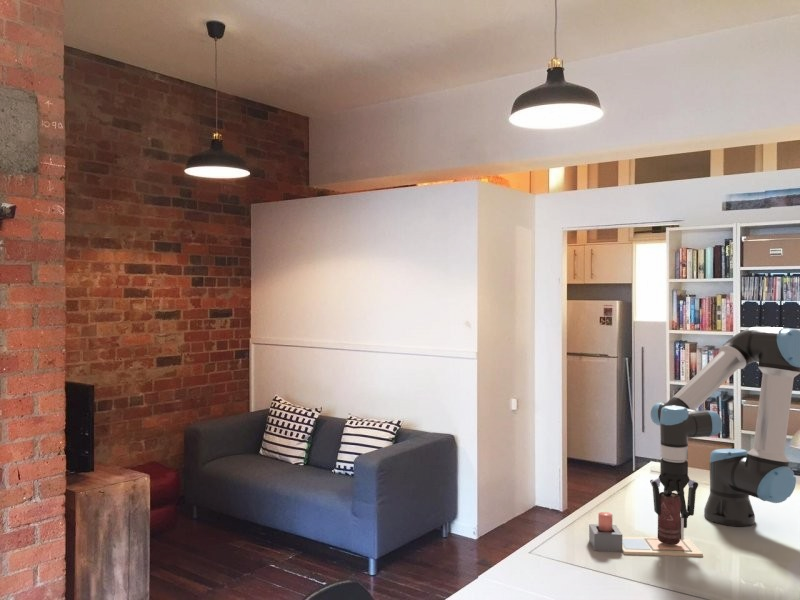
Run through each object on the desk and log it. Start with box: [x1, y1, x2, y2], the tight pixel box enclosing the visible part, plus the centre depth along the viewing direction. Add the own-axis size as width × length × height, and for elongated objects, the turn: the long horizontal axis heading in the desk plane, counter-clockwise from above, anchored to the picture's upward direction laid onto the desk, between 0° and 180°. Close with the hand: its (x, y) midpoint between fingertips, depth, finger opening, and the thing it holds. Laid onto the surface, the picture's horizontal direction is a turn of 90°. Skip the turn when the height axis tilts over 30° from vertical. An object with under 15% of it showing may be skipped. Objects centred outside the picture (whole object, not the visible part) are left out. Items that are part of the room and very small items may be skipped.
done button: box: [597, 511, 613, 532], centre depth 199 cm, size 4×4×4 cm
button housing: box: [588, 523, 623, 553], centre depth 199 cm, size 8×8×5 cm
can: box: [657, 491, 681, 545], centre depth 197 cm, size 6×6×14 cm
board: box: [622, 536, 704, 558], centre depth 197 cm, size 22×12×1 cm, turn 85°
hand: (673, 538), depth 197 cm, fingers open, 3 cm apart
